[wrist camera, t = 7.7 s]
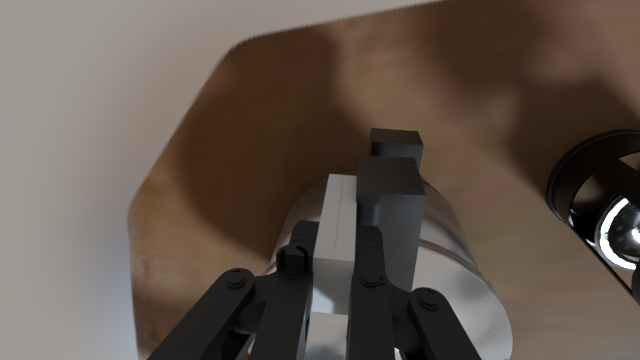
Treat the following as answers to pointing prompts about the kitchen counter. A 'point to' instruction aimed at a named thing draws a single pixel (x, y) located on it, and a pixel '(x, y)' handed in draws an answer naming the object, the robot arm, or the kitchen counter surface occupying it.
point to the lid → (413, 263)
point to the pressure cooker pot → (437, 211)
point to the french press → (618, 213)
